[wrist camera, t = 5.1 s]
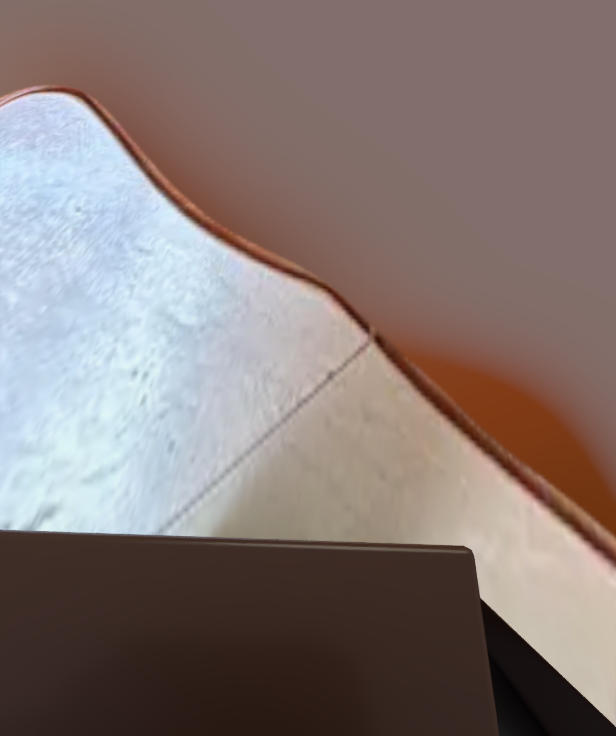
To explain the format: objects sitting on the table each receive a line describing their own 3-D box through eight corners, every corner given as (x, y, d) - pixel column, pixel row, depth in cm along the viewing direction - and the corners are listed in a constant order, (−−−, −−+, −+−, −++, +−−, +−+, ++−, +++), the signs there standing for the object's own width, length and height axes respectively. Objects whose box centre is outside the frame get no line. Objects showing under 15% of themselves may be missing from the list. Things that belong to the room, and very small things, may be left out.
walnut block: (329, 714, 13) (633, 1621, 2) (166, 711, 13) (-717, 1707, 1) (330, 571, 15) (476, 545, 3) (187, 566, 14) (-137, 524, 3)
